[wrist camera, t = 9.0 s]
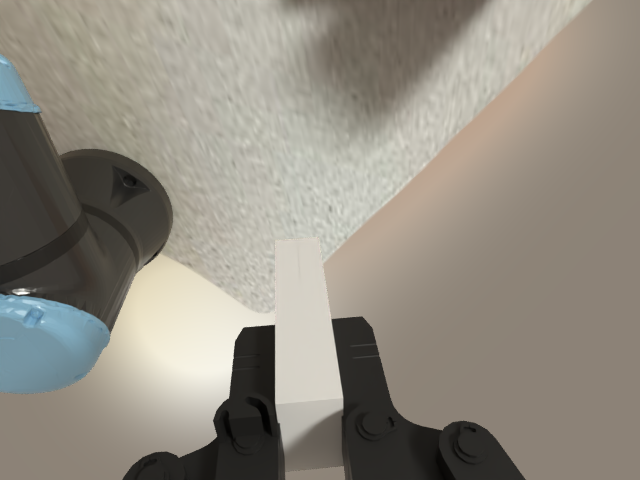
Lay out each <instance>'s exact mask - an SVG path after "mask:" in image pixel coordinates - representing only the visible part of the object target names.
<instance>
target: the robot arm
mask: <svg viewBox="0 0 640 480" xmlns="http://www.w3.org/2000/svg"><path fill="white" fill-rule="evenodd" d="M39 113H41V110H40V108H39V107H38V106H37V105H35V104H34V103H33V101H32V99H31V97H30V95H29V93H28V91H27V89H26V88H25V86H24V84H23V82H22V80H21V78H20V76H19V74H18V72H17V71H16V69H15V67H14V66H13V64H12V63H11V62H10V61H9V60H8V59H7V58H6V57H4V56H3V55H1V54H0V392H5V393H15V394H34V393H44V392H50V391H55V390H58V389H62V388H65V387H67V386H70V385H72V384H74V383H75V382H77V381H79V380H81V379H82V378H83V377H85V376H86V375H87V373H88V372H90V370H91V369H92V368H93V367H94V365H95V363H96V361H97V359H98V357H99V355H100V354H101V352H102V350H103V349H104V348H105V347H106V346H107V345H108V343H109V340H110V334H111V331H112V329H113V326H114V324H115V321H116V319H117V317H118V314H119V312H120V309H121V307H122V305H123V302H124V300H125V298H126V295H127V293H128V291H129V288H130V286H131V284H132V281H133V279H134V276H135V274H136V273H137V272H138V271H140V270H141V269H142V268H143V266H145V265H147V264H148V263H149V262H151V261H152V260H153V259H154V258H155V257H156V256H158V254H159V253H160V252H161V251H162V249H163V248H164V246H165V244H166V242H167V240H168V237H169V234H170V231H171V228H172V223H173V212H172V206H171V203H170V200H169V197H168V195H167V193H166V191H165V190H164V188H163V187H162V185H161V184H160V182H159V181H158V180H157V179H156V178H155V177H154V176H153V175H152V174H151V173H150V172H149V171H148V170H147V169H145V168H144V167H143V166H141V165H140V164H138V163H137V162H135V161H133V160H131V159H129V158H127V157H125V156H122V155H120V154H117V153H114V152H110V151H105V150H98V149H82V150H75V151H71V152H68V153H65V154H62V155H60V156H59V155H58V153H57V150H56V148H55V146H54V144H53V142H52V140H51V137H50V135H49V133H48V131H47V129H46V127H45V124H44V122H43V120H42V118H41V116H40V114H39ZM213 422H214V426H215V430H216V433H217V438H216V439H214V440H213V441H212V442H211V443H210V444H208V445H207V446H205V447H203V448H201V449H199V450H197V451H194V452H192V453H190V454H187V455H185V456H182V457H180V458H178V457H177V455H174V454H172V453H169V452H155V453H152V454H150V455H147V456H145V457H143V458H141V459H140V460H139V461H138V462H136V463H135V464H134V465H133V466H132V467H131V468H130V469H129V471H128V472H127V473H126V475H125V476H124V478H123V480H285V472H289V471H299V470H309V469H319V468H328V467H338V466H344V471H345V480H525V478H524V477H523V476H522V474H521V473H520V471H519V470H518V469H517V467H516V466H515V465H514V463H513V462H512V460H511V459H510V458H509V456H508V455H507V453H506V452H505V451H504V450H503V448H502V447H501V445H500V444H499V442H498V441H497V440H496V438H495V437H494V436H493V435H492V434H490V432H489V431H488V430H487V429H485V428H483V427H481V426H480V425H478V424H476V423H472V422H467V421H458V422H452V423H451V424H449V425H448V426H446V427H444V429H443V431H442V430H437V429H433V428H428V427H423V426H420V425H417V424H414V423H412V422H410V421H408V420H406V419H405V418H403V417H402V416H401V415H400V414H399V413H398V412H397V410H396V409H395V408H394V406H393V404H392V401H391V398H390V394H389V390H388V387H387V383H386V379H385V375H384V371H383V367H382V363H381V359H380V357H379V352H378V348H377V345H376V340H375V336H374V333H373V329H372V327H371V326H370V325H369V324H368V323H367V321H366V320H365V319H364V318H363V317H350V318H339V319H331V315H330V308H329V302H328V295H327V288H326V282H325V275H324V269H323V262H322V256H321V249H320V243H319V237H311V238H298V239H284V240H275V325H269V326H256V327H245V328H243V329H242V331H241V333H240V334H239V336H238V338H237V339H236V341H235V347H234V359H233V367H232V377H231V386H230V396H229V399H227V400H226V401H224V402H223V403H222V405H221V406H220V407H219V408H218V410H217V411H216V414H215V417H214V420H213Z"/></svg>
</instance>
